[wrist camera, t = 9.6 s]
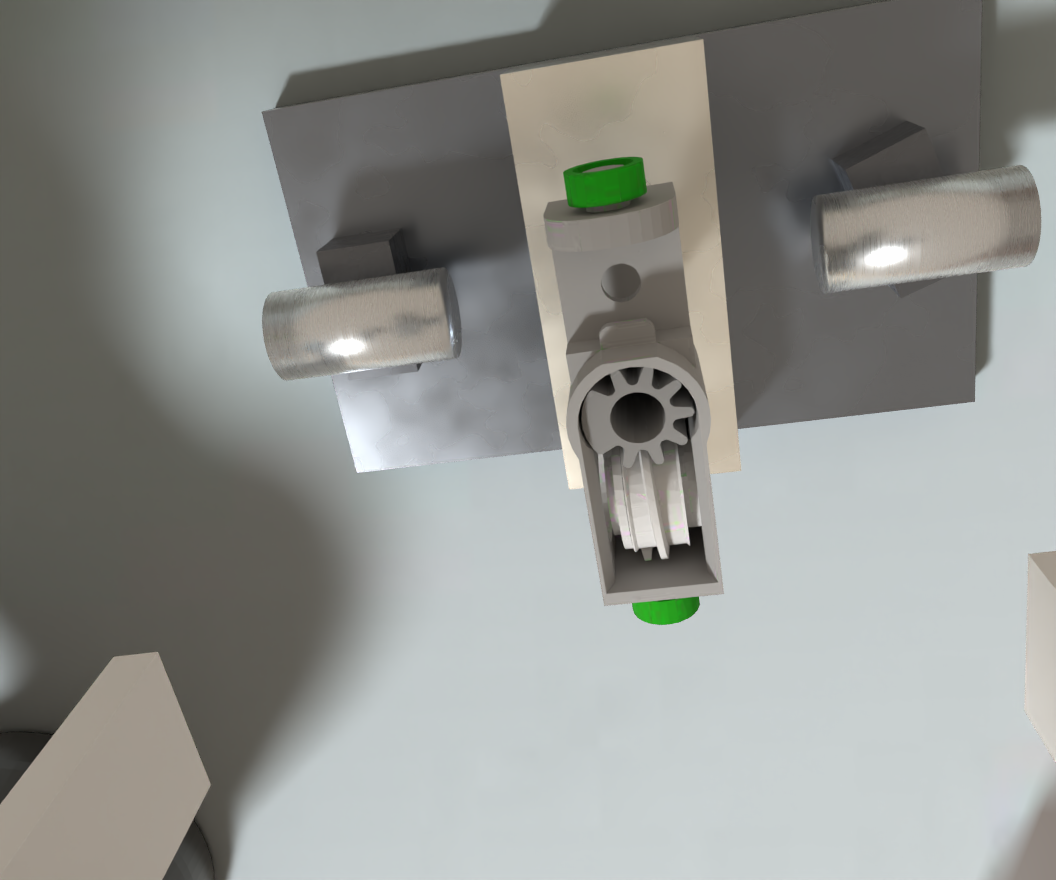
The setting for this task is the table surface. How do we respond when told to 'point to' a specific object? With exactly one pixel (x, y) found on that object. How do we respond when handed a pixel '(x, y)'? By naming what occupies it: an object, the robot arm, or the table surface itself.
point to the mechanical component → (635, 389)
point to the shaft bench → (704, 225)
